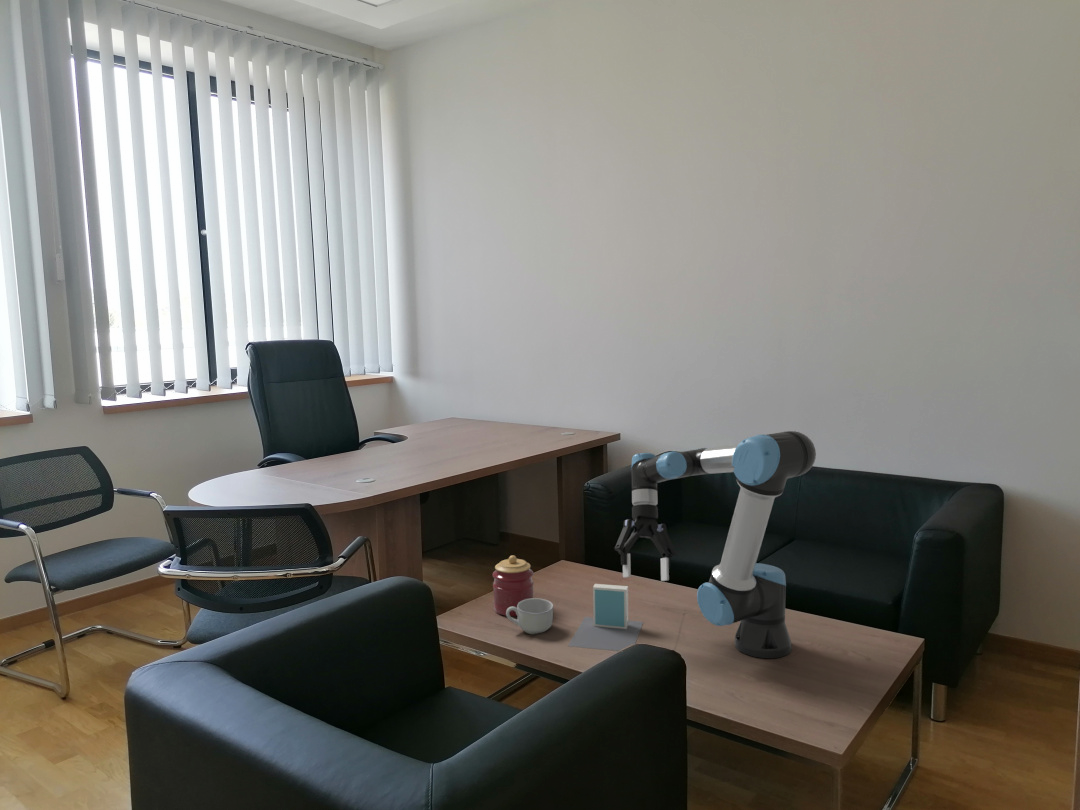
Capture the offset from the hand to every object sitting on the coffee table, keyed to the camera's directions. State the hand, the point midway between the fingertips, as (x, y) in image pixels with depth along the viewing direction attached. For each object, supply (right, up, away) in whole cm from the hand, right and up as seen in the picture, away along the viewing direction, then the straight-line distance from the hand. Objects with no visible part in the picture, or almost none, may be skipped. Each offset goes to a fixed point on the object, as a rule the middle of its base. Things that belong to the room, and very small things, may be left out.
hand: (646, 579), depth 227 cm
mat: (-11, -17, +3) cm, 20 cm away
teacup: (-33, -17, +8) cm, 38 cm away
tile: (-9, -16, +9) cm, 20 cm away
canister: (-39, -15, +25) cm, 49 cm away
